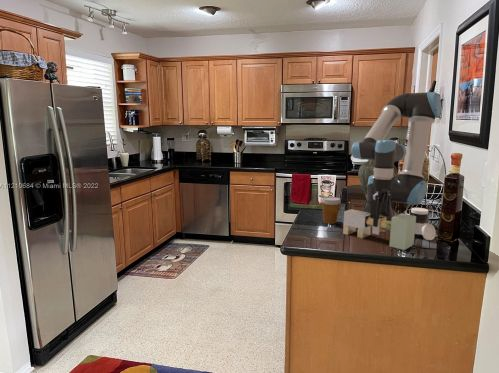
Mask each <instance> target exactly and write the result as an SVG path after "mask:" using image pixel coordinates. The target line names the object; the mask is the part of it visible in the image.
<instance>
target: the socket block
mask: <svg viewBox="0 0 499 373" xmlns="http://www.w3.org/2000/svg"><path fill="white" fill-rule="evenodd" d="M393 216H394V217H392V220H391V231H389V232H390V236H389V245H388V246H389V247H390V248H391V247H392V248H395V249H398V250H402V251H405V250H407V249H409V248H410V247H412V246H414V243H415V242H414V240H415V237H414V234H415V223H416V216H413V215H410V214H408V213H407V214H406V213H402V212H401V213H398V214H396V215H393Z"/></svg>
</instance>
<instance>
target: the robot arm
mask: <svg viewBox="0 0 499 373" xmlns="http://www.w3.org/2000/svg"><path fill="white" fill-rule="evenodd" d="M380 113H381V114H380V115H379V117H378V118H377V120H376V121H375V122H374V123H373V125H372V127H371V128H370V129H369V131H368V132H367V133H366V135H365V137H364V138H363V139H362V140H361V141H355V142H353V144H352V146H351V151H350V154H351V156H352V157H353V158H354V159H358V160H367V161H368V160H375V162H374V169H373V171H374V175H372V176H370V177H369V179H368V184H367V185H368V189H367V199H366V204H365V206H364V209H363V212H368V213H371V215H370V217H371V218H373V227H372V229H371V230H372V232H371V234H373V235H377V236H379V235H380V232H379V230H380V219H379V217H380V216H384V217H386V220H387V221H391V220H392V217H394V216H395V215H394V213H393V209H392V202H395V203H400V204H407V205H414V206H415V205H416V206H417V205H419V204H422V202H423V201H424V199H425V197H426V194H427V191H428V182H427V181H426V180H425V177H424V175H423V174H422V173H423V168H424V167H423V166H424V162H425V157H426V151H427V146H428V145H427V144H428V141H429V136H430V130H431V125H433V124H434V123H435V122H436V119H437V118H440V117H441V114H442V99H441V97H440V94H439V92H435V91H434V92H432V91H431V92H429V91H427V92H425V91H424V92H407V93H406V92H405V93H402V94H398V95H397V96H394V97H392V99H390V100H389V101H388V102H387V103H386V104H385V105H384V106H383V107H382V109H381V112H380ZM401 118H408V121H409V123H410V128H409V133H408V139H407V143H406V147H405V145H403V144H401V143H396V141H395V140H393V139H385V138H386V136H387V135H388V133H389V132H390V130H391V129H392V127H393V125H394V124H395V123H396V122H398V121H399V120H400V119H401ZM403 159H404V160H403ZM401 160H403V165H402V170H401V171H400V172H399V173H397V174H398V176H397V178H393V177H394V176H393V170H394V164H395V162H400V161H401ZM381 232H383V233H386V230H383V231H381Z"/></svg>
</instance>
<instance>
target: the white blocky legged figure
mask: <svg viewBox="0 0 499 373" xmlns="http://www.w3.org/2000/svg"><path fill="white" fill-rule="evenodd" d="M363 211H364V210H363ZM363 211H361V210H356V209H353V208H352V209H348V210H344V211H343V223H342V224H343V225H342V229H343V230H342V234H344V235H348V236H349V235H350V234H353V233H355V232H357V235H356V236H357V237H356V238H359V239H364V238H367V237H369V236H370V235H371V233H372V232H371V230H372V229H371V228H372V227H370V226H366V225H365V219H366V216H368V217H370V215H371V213H368V212H363Z"/></svg>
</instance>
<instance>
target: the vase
mask: <svg viewBox="0 0 499 373" xmlns="http://www.w3.org/2000/svg"><path fill="white" fill-rule="evenodd" d="M374 162H375V160H367V161H366V162H364V163H362V164H361V165H360V166H359V168H358V172H357V173H358V181H359V184H360V187H361V189H362V191H363V194H364V196H365V198H366V200H367V189H368V185H367V184H368V179H369V177H370V176H372V175H374V171H373V169H374ZM398 174H399V173H398V170H397V166H396V165H394V170H393V176H394V177H393V178H397V177H398Z"/></svg>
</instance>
